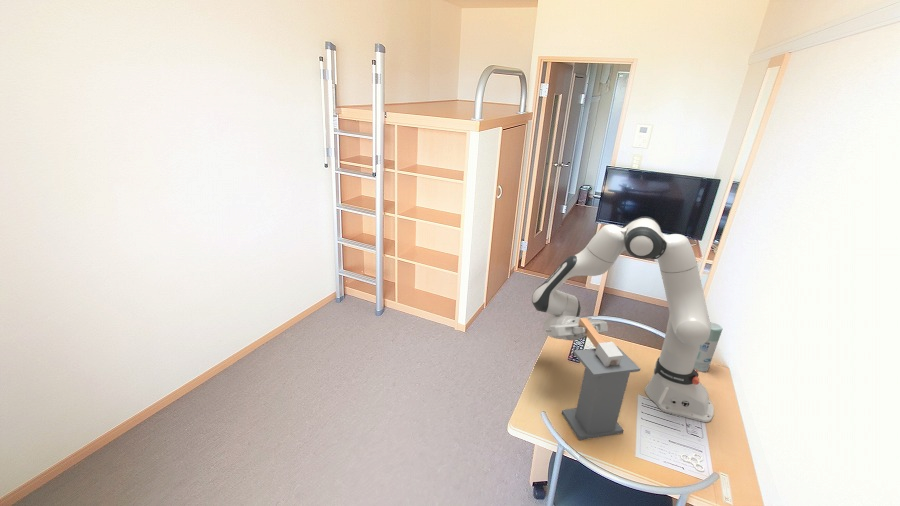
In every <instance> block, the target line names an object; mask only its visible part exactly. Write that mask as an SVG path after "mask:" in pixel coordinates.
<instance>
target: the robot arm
mask: <svg viewBox="0 0 900 506" xmlns="http://www.w3.org/2000/svg"><path fill="white" fill-rule="evenodd" d="M625 251H626V252H627V253H628V254H629V255H630V256H632V257H633V258H636V259H641V260H642V259H643V260H645V259H651V260H657V262H658V263H657V264H658V265H659V266H658V267H659V270H660V274H661V275H660V276H661V279H662V283H663V287H664V292H665V296H666V297H665V298H666V302H667V306H668V307H667V308H668V312H669V316H668V320H667V325H666V330H665V335H664V339H663V343H662V347H661V350H660V355H659V357H658V358H657V360H656V362H655V366H654V369H653V375H652V377H651V379H650V381H648V383H647V385H646V386H645V388H644V390H645V393H646V396H647V397H648V399H650V400H651V401H652V402H654V403H655V405H656V406H657V407H658V409H659V410H661V411H662V412H664V413H665V412H666V413H668V414H673V415H676V416H680V417H684V418H688V419H691V420H695V421H697V422H698V421H699V422H703V423H709V422H711V421H712V420H713V417H714V411H715V408H714V405H713V403H712V401H711V399H710V397H709V396H710V395H709V392H708V389H707V388H706V387H705V386H704V385H703V384H702V382H700V378H699V373H698V372H699V371H697V369H696V370H695V369H694V365H695V362H696V359H697V356H698V353H699V346H700V345H702V344H704V343H705V342H706V341H707V340H708V339H709V336H710V332H711V324H710V322H711V321H710V315H709V311H708V306H707V303H706V299H705V295H704V290H703V289H704V288H703V284H702V279H701V275H700V271H699V270H700V269H699V267H698V262H697V257H696V255H695V252H694V249H693V247H692V244H691V243H690V240H689V238H688V237H687V236H685V235H683V234H679V233H671V234H666V233H663V232H662V227H661V225H660V223H659V222H658V221H657V220H656V219H654V218H653V217H650V216H640V217H637V218H636V217H635V219H632V220H631V221H629V222H626V223H625V224H623V225H622V227H620V226H618V225H616V224H605V225H603V226H602V227H601V228H600V229H599V230H598V231H597V232H596V233H595V234H594V235H593V237H592V238H591V239H590V240H589V242H588V244H587V245H586V246H585V248H583V249H582V250H581V251H579V252H578V253H576V254H574V255H570V256H568V257H567V258H566V259H565V260H564V261H562V262H561V263H560V264H559V266H558V267H557V268H556V269H555V270H554V271H553V273H551V275H549V277H547V279H546V280H544V282H543V283H542V284H541V285H539V286H537V288H535V290H534V292H533V294H532V297H531V302H532V305H533V307H534V309H535V310H536V311H538V312H542V313H547V314H550V315H549V316H548V317H546V318H544V320H543V322H542V330H543V332H544V333H545V334H546V335H547V336H548V337H550V338H554V339H556V340H564V341H570V342H571V341H572V342H573V341H577V340H578V339H582V338H585V337H587V335H586V334H585V333H587V328H586V327H580V326H579V320H580V318H583V317H582V316H581V317H580V314H581V310H582V309H581V308H582V307H581V303H580V300H579V298H578V297H577V296H576V295H573V294H570V293H567V292H564V291H561V290H558V289H559V288H560V287H561V286H562V285H563V284H564V283H565V282H566V281H567V280H568V279H570V278H573V277H578V276H579V277H582V276H583V277H585V276H586V277H596V276H601V275H604V274H605V273H607V272H608V271H609V270H610V269H611V268H612V266H613V265H614V264H615V262H616V261H617V259H618V257H620V255H621V254H622V253H623V252H625ZM585 318H587V319H588V320H589V322H590V323H591V324H592V325H593V327H594V328H595V329H596V331H597V332H598V333H599V334H601V333H608V331H609V327H608V322H607V321H605V320H600V319H593V318H592V317H585Z"/></svg>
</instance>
